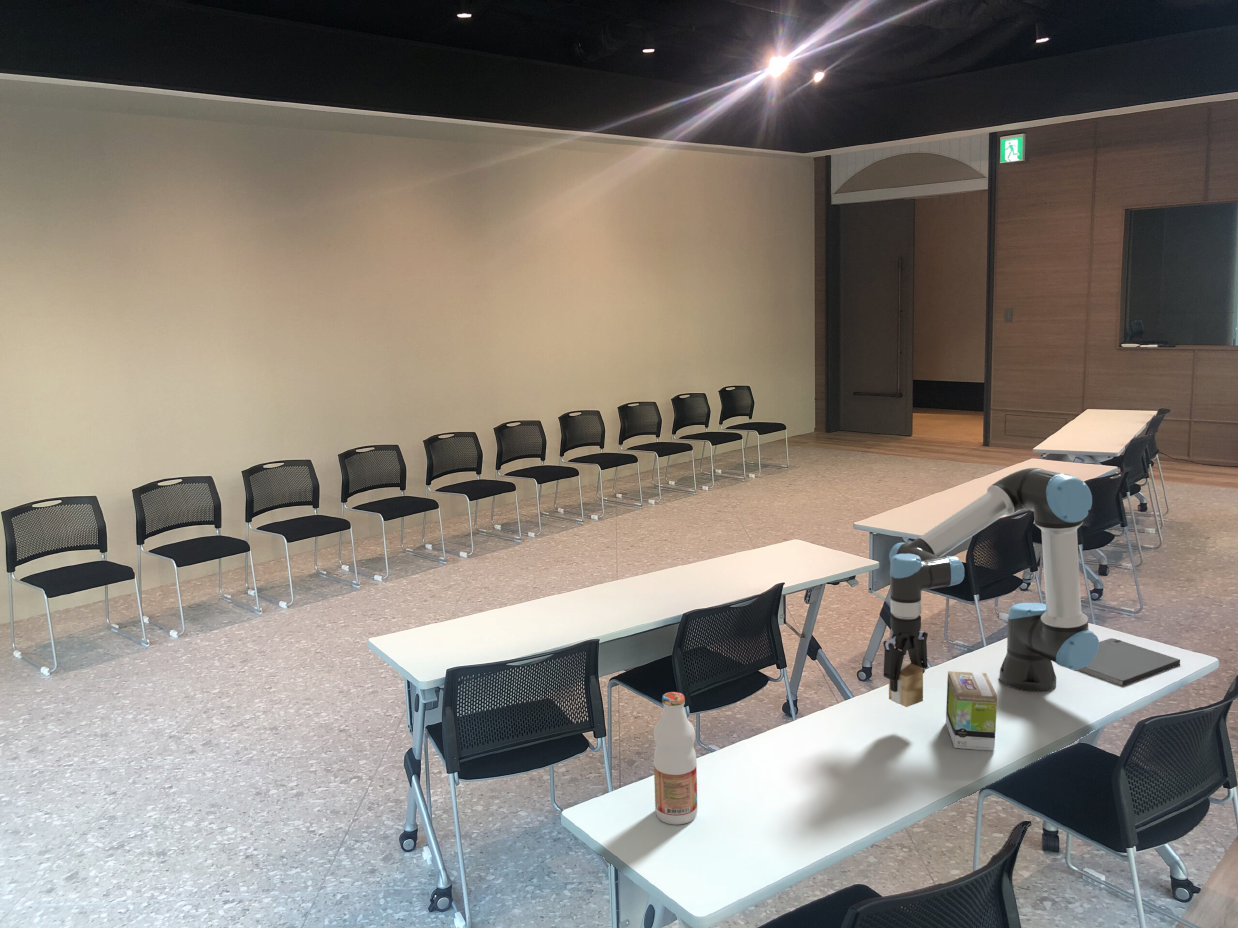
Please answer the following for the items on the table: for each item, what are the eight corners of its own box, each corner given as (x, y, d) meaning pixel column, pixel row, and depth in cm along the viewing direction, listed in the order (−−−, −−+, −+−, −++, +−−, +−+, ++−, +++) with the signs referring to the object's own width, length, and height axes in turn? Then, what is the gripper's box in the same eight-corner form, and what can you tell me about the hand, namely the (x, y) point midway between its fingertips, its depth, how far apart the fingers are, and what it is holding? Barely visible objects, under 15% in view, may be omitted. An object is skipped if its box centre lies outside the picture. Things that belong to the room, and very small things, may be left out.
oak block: (905, 692, 243) (905, 660, 242) (923, 700, 238) (923, 667, 236) (888, 698, 241) (888, 666, 239) (906, 707, 235) (906, 673, 234)
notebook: (1122, 687, 262) (1179, 666, 275) (1123, 680, 261) (1180, 659, 275) (1054, 663, 280) (1111, 644, 294) (1055, 656, 280) (1111, 637, 293)
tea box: (996, 751, 227) (998, 695, 225) (953, 749, 229) (955, 693, 227) (984, 724, 242) (986, 671, 239) (944, 722, 244) (946, 669, 241)
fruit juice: (646, 811, 206) (643, 694, 201) (679, 798, 211) (676, 683, 206) (672, 830, 198) (669, 709, 193) (706, 815, 203) (704, 697, 199)
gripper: (920, 602, 243) (920, 684, 247) (867, 618, 234) (868, 702, 238) (943, 610, 236) (942, 694, 241) (889, 626, 227) (889, 713, 232)
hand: (905, 698), depth 239 cm, fingers closed on oak block, 6 cm apart
